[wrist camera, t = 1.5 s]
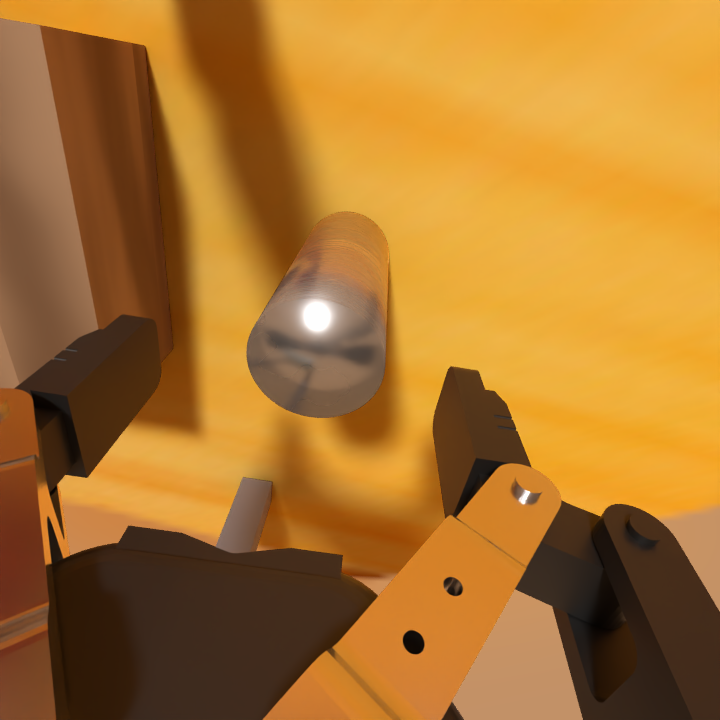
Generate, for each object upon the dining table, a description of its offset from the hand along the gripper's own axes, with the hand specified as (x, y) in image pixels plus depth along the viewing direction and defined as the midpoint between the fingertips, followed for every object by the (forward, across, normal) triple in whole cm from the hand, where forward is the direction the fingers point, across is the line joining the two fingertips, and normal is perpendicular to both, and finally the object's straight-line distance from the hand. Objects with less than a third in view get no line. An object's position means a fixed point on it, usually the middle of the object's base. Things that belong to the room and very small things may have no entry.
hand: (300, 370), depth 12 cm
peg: (+10, 0, 0) cm, 11 cm away
